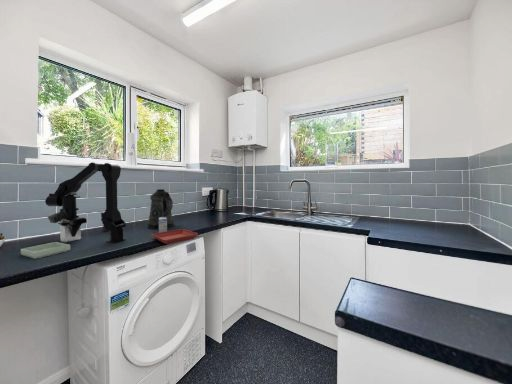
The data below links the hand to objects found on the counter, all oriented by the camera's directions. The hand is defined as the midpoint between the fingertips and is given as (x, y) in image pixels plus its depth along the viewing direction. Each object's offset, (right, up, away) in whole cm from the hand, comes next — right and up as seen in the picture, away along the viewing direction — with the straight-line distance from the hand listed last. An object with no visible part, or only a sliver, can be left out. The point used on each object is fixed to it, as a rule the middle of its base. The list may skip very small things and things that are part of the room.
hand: (70, 236), depth 118 cm
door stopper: (+6, -1, +25) cm, 26 cm away
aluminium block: (0, -2, 0) cm, 2 cm away
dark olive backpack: (+34, 0, +34) cm, 48 cm away
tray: (+6, -3, -20) cm, 21 cm away
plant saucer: (+54, -2, +2) cm, 54 cm away
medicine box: (+41, -1, +16) cm, 45 cm away
